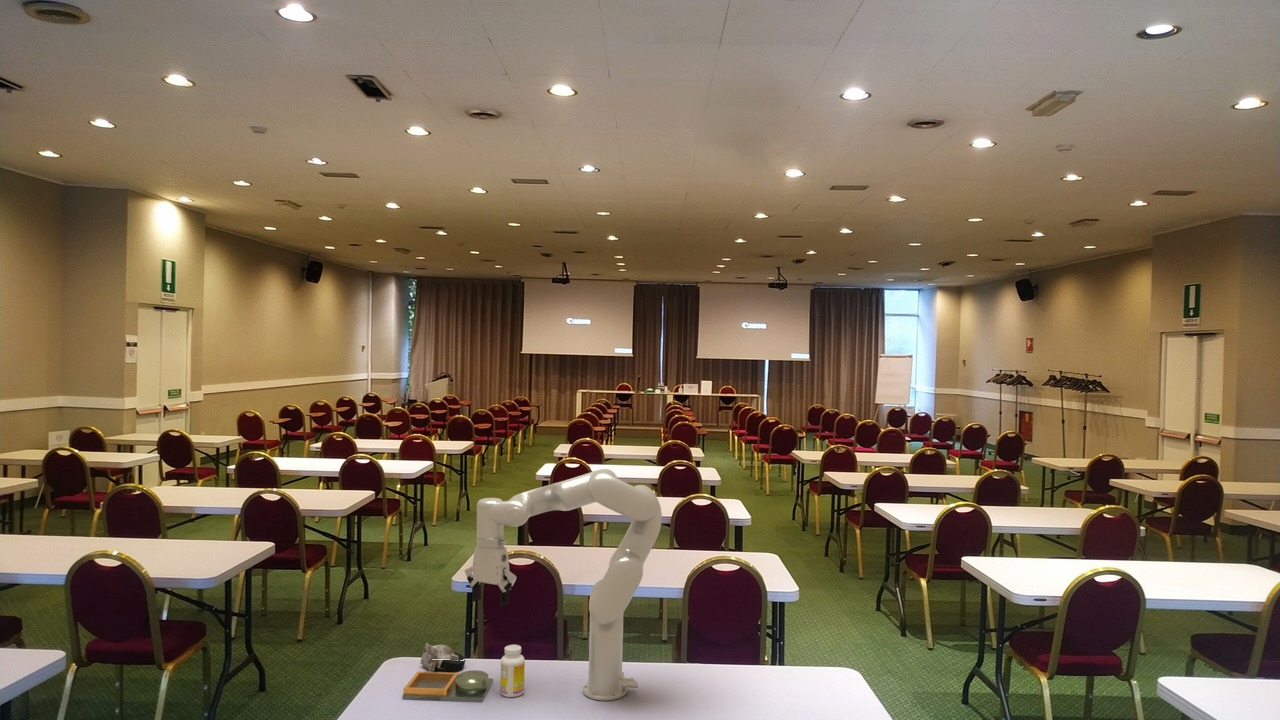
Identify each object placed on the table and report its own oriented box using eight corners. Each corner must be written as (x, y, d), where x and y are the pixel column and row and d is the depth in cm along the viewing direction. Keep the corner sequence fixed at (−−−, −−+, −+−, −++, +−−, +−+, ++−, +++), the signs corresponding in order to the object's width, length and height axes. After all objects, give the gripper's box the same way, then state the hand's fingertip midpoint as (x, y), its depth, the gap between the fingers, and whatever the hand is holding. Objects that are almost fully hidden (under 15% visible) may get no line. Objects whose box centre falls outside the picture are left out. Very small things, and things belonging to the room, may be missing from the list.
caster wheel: (466, 675, 235) (440, 681, 227) (444, 658, 242) (418, 663, 234) (472, 654, 235) (447, 659, 227) (450, 638, 242) (424, 642, 234)
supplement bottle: (526, 688, 220) (527, 643, 220) (520, 698, 214) (521, 652, 214) (503, 687, 221) (504, 642, 221) (497, 697, 214) (498, 651, 214)
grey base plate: (492, 682, 224) (493, 668, 224) (482, 702, 211) (482, 686, 211) (418, 680, 225) (418, 665, 225) (402, 699, 212) (403, 684, 212)
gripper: (523, 542, 218) (523, 603, 218) (474, 536, 226) (474, 595, 226) (507, 548, 212) (507, 610, 211) (457, 541, 219) (457, 602, 219)
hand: (490, 602), depth 219 cm, fingers open, 9 cm apart
